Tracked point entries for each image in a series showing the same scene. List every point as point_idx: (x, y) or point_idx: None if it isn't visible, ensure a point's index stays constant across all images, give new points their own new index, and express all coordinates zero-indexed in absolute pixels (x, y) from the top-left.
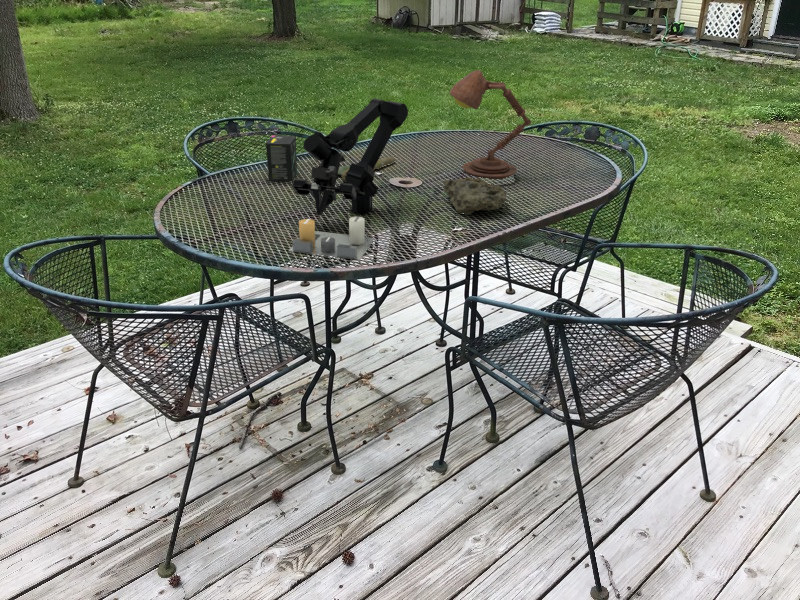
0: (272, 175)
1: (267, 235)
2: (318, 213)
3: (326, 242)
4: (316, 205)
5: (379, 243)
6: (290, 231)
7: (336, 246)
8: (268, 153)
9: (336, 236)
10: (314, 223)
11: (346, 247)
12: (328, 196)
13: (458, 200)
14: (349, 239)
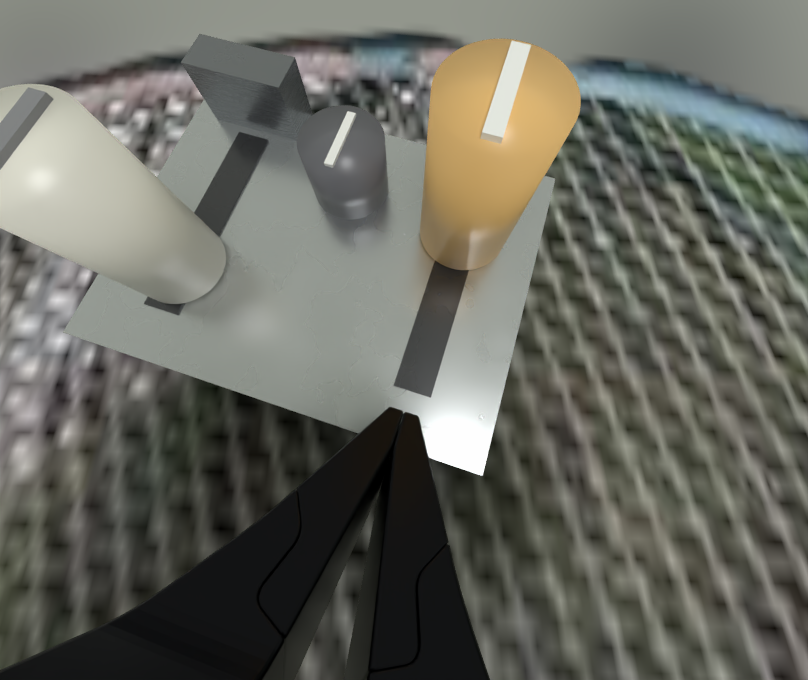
0: None
1: (726, 450)
2: (400, 413)
3: (351, 108)
4: (429, 500)
5: (69, 314)
6: (596, 520)
7: (305, 220)
8: None
9: (293, 358)
10: (430, 97)
11: (242, 49)
12: (83, 643)
13: None
14: (214, 245)
